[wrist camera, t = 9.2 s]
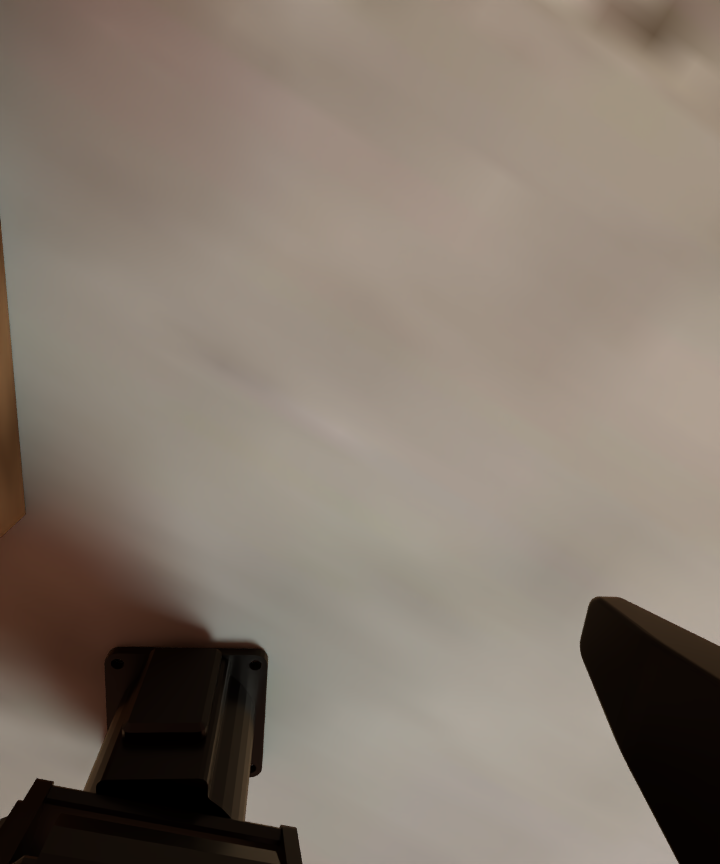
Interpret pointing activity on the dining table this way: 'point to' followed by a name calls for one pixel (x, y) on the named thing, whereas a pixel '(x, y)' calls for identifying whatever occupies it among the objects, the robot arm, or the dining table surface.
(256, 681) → the robot arm
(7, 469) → the brown square tray
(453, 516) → the dining table surface
